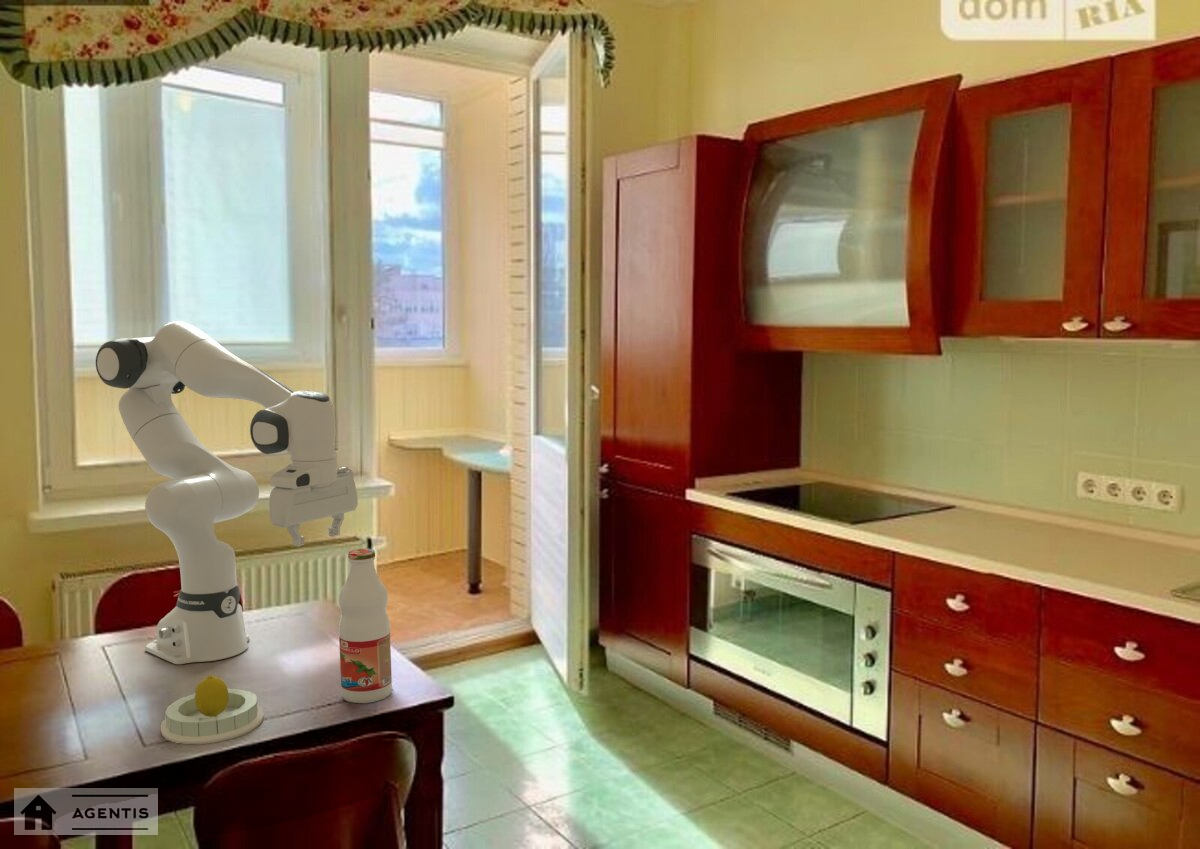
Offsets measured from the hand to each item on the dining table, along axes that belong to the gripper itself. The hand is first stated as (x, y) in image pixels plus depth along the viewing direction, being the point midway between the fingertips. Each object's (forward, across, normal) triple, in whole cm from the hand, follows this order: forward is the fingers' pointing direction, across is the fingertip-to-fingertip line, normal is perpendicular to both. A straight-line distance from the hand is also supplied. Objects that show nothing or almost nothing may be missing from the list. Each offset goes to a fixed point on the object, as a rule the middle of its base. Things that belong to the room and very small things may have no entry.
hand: (316, 540), depth 194 cm
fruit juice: (+27, +5, +17) cm, 32 cm away
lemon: (+26, +28, +3) cm, 38 cm away
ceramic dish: (+27, +28, +2) cm, 39 cm away
